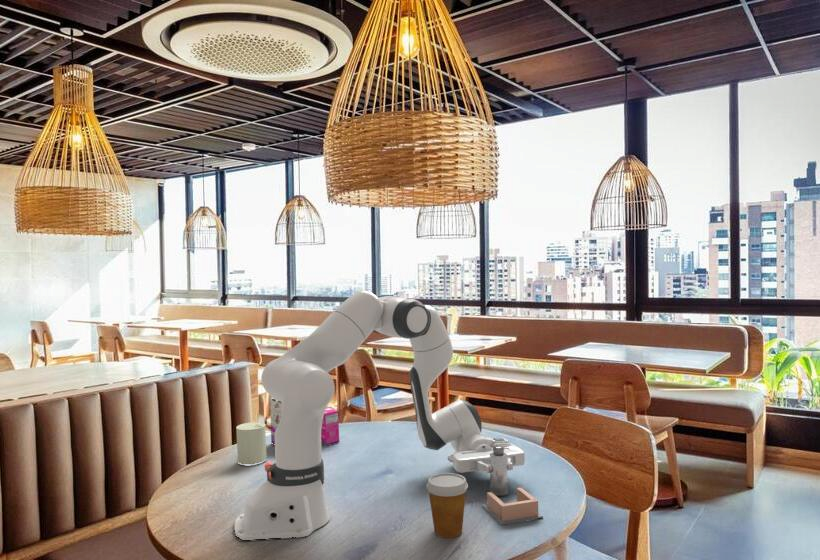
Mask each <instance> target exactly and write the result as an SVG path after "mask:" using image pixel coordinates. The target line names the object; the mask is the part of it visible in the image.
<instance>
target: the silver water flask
mask: <svg viewBox="0 0 820 560" xmlns="http://www.w3.org/2000/svg"><path fill="white" fill-rule="evenodd" d="M490 465H491V466H492V472H491V473H489V475H490V476H489V477H490V480H489V481H490V492H492V493H493V494H494V495H495V496H505V495H508V493H509V488H508V487H509V484H508V483H509V481H508V479H509V478H508V474H509V473H508V470H507V454H506V453H504V447H503V446H500V445H496V446H493V452H492V453H490Z"/></svg>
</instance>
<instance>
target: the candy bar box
mask: <svg viewBox="0 0 820 560" xmlns="http://www.w3.org/2000/svg"><path fill="white" fill-rule="evenodd" d="M269 401H270V408H269V409H270V439H271V441H270V442H271V443H273V444H275V431H276V429H277V428H278V426H279V423H280V419H281V414H282V403H281V402H280V401H278V400H276V399H274V398H272V397H270V398H269ZM273 444H272V445H273Z"/></svg>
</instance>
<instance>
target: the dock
mask: <svg viewBox="0 0 820 560" xmlns="http://www.w3.org/2000/svg"><path fill="white" fill-rule="evenodd" d="M486 502H487V503H484V504H482V505H481V507H482V508H483V509H484V510H485V511H486V513H488V514H489V515H490V516H491V517H492V518H493V519H494V520H495V521H496V522H497V523H498V524H499V525H500V526H505V525H511V524H517V523H522V521H524V522H528V521H527V520H530V521H534V520H533V519H536V520H539V519H538V518H542V519H544V515H542V514H541V513H540V512H539V500H538V499H536V498H535V497H534V496H532V495H531V494H530V493H529V492H527V491H526V490H525V489H524V488H523V487H517V488H516V499H512V500H511V499H509V500H504V501H502V500H501V498H499V497H498V495H494V494H493V493H492V492H491V491H489V492H486Z"/></svg>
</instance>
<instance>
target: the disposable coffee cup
mask: <svg viewBox="0 0 820 560" xmlns="http://www.w3.org/2000/svg"><path fill="white" fill-rule="evenodd" d="M468 488H469V485H468V482H467V479H466V477H465V476H463V475H461V474H459V473H453V472H443V473H442V472H441V473H437V474H433V475H431V476H430V477H428V479H427V483H426V490H427V491H428V495H429V502H430V509H431V516H432V522H433V530H434V534H436V536H438V537H441V538H447V539H452V538H456V537H459V536H460V535H462V534H463V528H464V527H463V524H464V515H465V505H466V497H467V496H466V495H467V491H468V490H467V489H468Z"/></svg>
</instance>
